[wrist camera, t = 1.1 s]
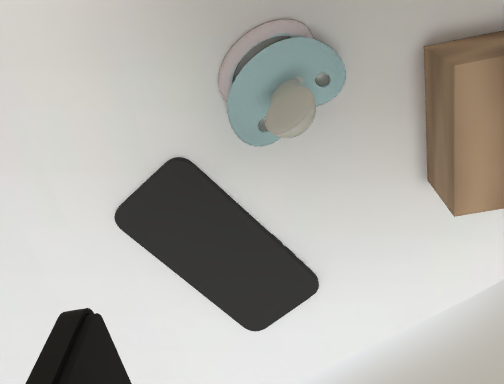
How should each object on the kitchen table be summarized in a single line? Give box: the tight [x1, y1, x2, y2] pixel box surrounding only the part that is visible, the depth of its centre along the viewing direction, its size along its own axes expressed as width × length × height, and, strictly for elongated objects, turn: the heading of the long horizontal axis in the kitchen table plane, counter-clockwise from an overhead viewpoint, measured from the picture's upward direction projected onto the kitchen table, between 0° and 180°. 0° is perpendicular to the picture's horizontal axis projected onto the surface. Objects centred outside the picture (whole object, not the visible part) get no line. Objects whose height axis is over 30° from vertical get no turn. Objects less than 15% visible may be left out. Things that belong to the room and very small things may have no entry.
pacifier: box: [218, 19, 346, 146], centre depth 26 cm, size 7×6×6 cm
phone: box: [115, 157, 319, 331], centre depth 35 cm, size 7×1×15 cm
